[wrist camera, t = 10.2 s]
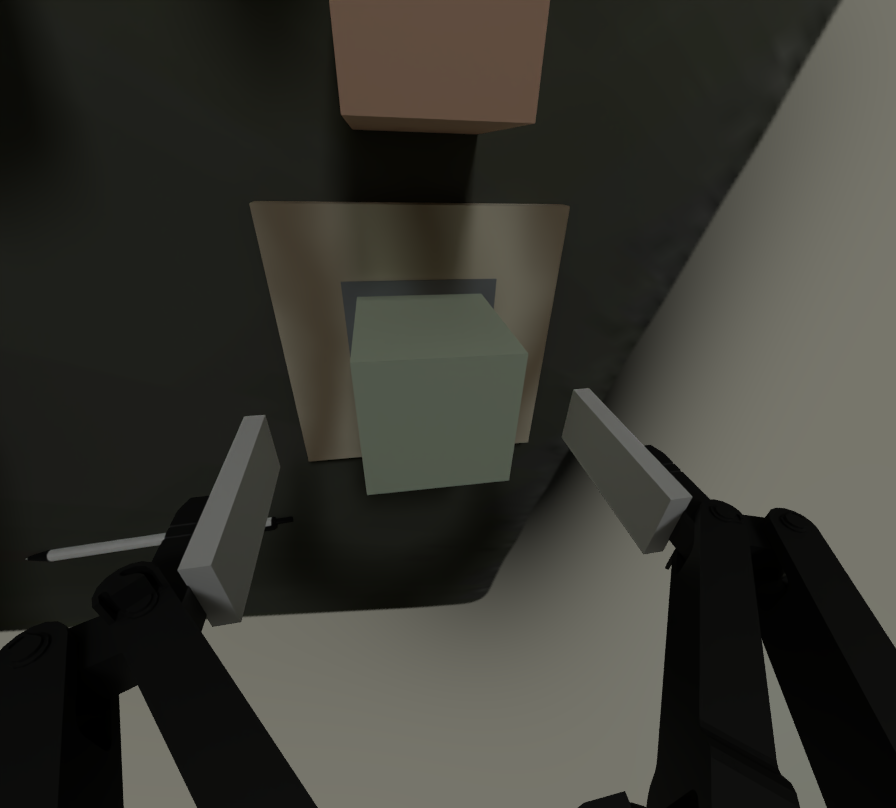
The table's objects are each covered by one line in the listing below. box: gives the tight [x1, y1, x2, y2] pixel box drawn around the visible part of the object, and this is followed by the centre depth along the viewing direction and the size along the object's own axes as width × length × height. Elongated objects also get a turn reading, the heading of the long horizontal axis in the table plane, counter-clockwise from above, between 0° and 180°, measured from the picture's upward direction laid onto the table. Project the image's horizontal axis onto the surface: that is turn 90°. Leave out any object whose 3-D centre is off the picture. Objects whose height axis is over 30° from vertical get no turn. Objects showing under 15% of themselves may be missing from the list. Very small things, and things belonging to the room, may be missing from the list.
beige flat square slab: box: [249, 201, 570, 461], centre depth 24 cm, size 16×16×1 cm
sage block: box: [350, 294, 528, 495], centre depth 20 cm, size 7×7×8 cm
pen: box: [26, 517, 293, 561], centre depth 29 cm, size 1×19×1 cm, turn 92°
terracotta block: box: [329, 0, 550, 134], centre depth 13 cm, size 6×6×8 cm
